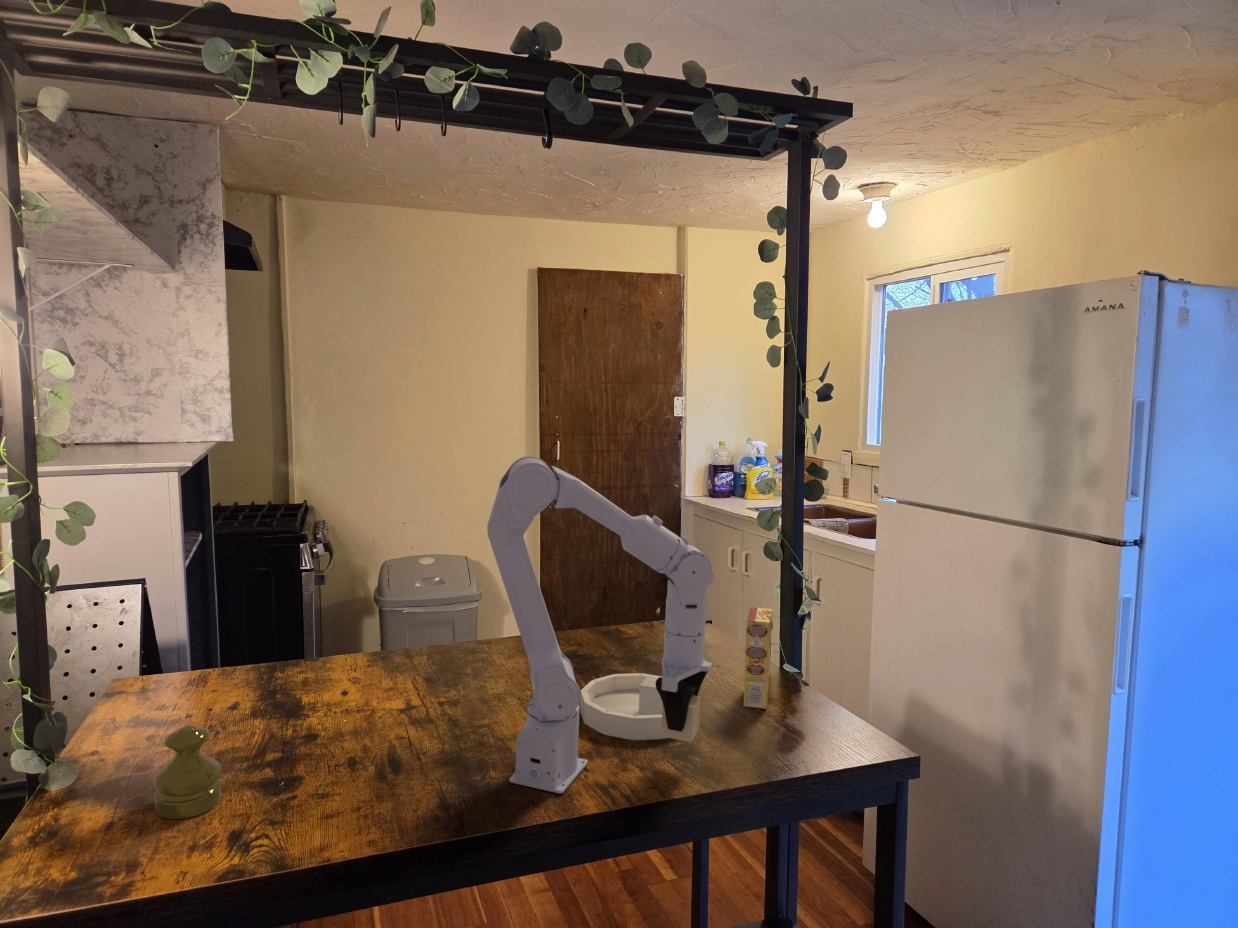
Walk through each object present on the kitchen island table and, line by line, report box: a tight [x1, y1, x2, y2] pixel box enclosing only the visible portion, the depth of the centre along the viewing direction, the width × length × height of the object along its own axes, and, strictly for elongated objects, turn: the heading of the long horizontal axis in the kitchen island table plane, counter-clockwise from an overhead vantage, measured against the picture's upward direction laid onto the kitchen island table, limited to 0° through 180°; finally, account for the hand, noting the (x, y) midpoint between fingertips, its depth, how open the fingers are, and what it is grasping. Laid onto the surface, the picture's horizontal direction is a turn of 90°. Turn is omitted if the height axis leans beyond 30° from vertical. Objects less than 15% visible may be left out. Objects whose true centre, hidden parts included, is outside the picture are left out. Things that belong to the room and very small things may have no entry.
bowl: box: [579, 672, 668, 741], centre depth 130 cm, size 18×18×4 cm
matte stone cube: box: [639, 676, 663, 715], centre depth 128 cm, size 4×4×5 cm
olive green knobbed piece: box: [153, 725, 223, 820], centre depth 98 cm, size 7×7×10 cm
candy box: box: [743, 607, 773, 710], centre depth 137 cm, size 9×4×15 cm, turn 167°
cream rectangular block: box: [661, 695, 701, 743], centre depth 112 cm, size 4×4×5 cm
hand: (680, 722), depth 112 cm, fingers closed on cream rectangular block, 4 cm apart
